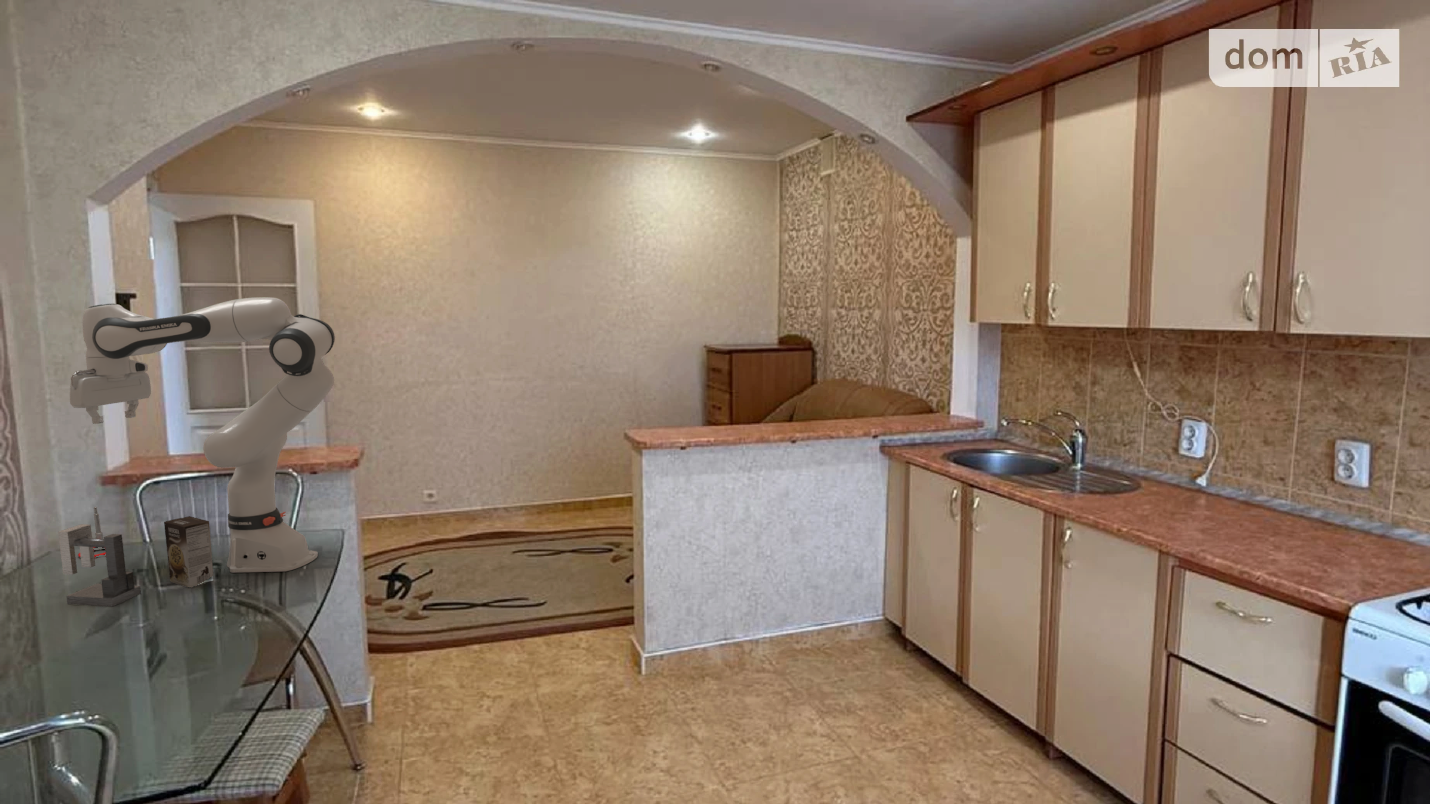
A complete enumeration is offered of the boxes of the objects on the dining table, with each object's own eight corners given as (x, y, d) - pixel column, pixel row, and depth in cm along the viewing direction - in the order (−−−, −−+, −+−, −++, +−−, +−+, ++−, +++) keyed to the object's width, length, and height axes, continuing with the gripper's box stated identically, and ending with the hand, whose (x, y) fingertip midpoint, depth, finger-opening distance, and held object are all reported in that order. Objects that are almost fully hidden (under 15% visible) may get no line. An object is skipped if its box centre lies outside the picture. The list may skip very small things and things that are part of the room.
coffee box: (168, 582, 198) (162, 521, 196) (195, 574, 204) (189, 515, 202) (188, 588, 194) (182, 526, 192) (215, 580, 200) (209, 520, 197)
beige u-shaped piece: (95, 565, 190) (90, 524, 189) (72, 574, 184) (67, 532, 183) (86, 565, 190) (81, 524, 189) (63, 574, 184) (58, 531, 183)
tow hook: (112, 557, 218) (119, 546, 226) (107, 514, 215) (114, 504, 223) (75, 562, 214) (83, 551, 222) (68, 518, 211) (77, 508, 219)
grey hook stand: (141, 593, 191) (134, 530, 188) (112, 606, 183) (105, 541, 181) (86, 590, 192) (79, 528, 190) (56, 603, 185) (48, 538, 182)
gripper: (81, 371, 188) (88, 427, 190) (153, 364, 208) (158, 414, 210) (59, 371, 189) (65, 426, 191) (132, 363, 209) (137, 414, 211)
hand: (114, 420), depth 201 cm, fingers open, 8 cm apart
